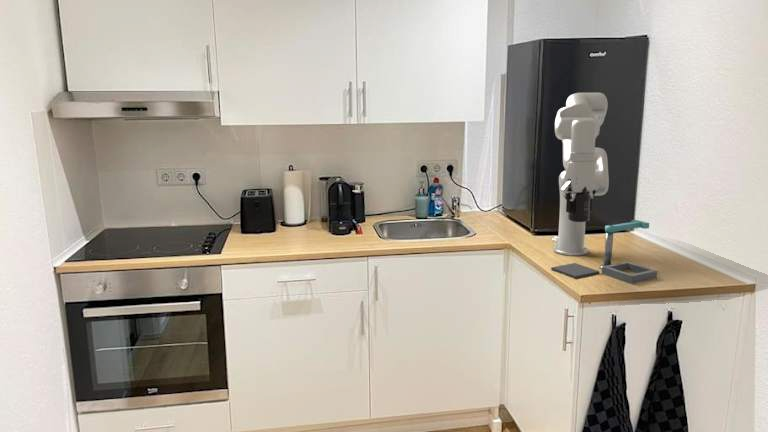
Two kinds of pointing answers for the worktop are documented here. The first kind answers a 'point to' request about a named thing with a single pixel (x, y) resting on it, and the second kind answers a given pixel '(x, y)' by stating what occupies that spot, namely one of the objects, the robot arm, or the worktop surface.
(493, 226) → the worktop surface
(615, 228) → the latch bar
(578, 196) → the supplement bottle
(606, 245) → the latch post
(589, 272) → the rubber mat
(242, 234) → the worktop surface
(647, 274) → the bottle holder
